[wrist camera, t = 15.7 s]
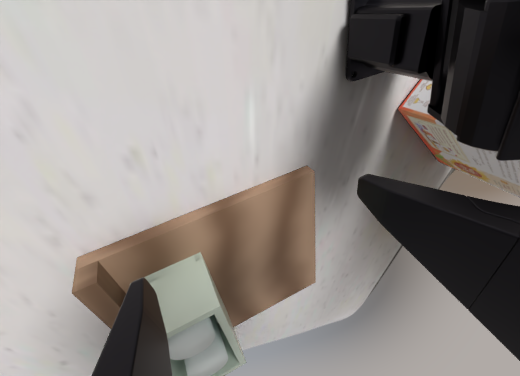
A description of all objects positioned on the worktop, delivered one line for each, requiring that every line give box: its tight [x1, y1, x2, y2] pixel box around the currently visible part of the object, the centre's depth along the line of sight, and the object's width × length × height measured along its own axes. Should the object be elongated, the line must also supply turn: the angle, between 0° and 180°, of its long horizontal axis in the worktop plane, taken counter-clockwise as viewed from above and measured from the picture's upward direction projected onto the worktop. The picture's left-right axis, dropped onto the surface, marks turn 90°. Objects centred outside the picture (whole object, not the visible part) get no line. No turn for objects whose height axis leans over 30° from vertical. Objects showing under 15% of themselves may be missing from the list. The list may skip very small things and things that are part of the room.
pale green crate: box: [130, 252, 246, 376], centre depth 23 cm, size 6×11×6 cm, turn 9°
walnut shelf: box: [72, 166, 315, 329], centre depth 26 cm, size 20×18×3 cm
